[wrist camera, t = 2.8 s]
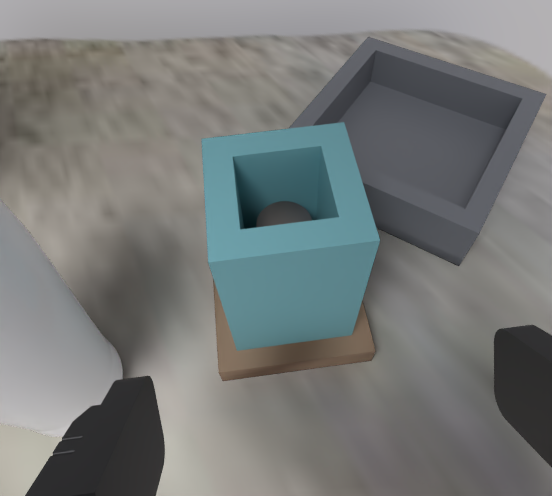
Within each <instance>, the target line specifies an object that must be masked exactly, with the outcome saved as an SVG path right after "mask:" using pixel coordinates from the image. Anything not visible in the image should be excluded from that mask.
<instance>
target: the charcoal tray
mask: <svg viewBox="0 0 552 496" xmlns="http://www.w3.org/2000/svg"><path fill="white" fill-rule="evenodd" d="M545 96H546V94H544V93H541V92H538V91H535V90H532V89H529V88H525V87H522V86H519V85H516V84H513V83H510V82H507V81H504V80H501V79H498V78H494V77H491V76H488V75H485V74H482V73H479V72H476V71H473V70H470V69H467V68H463V67H460V66H457V65H454V64H451V63H448V62H445V61H442V60H439V59H436V58H432V57H429V56H426V55H423V54H420V53H417V52H414V51H411V50H408V49H405V48H401V47H398V46H395V45H392V44H389V43H386V42H383V41H380V40H377V39H374V38H370V37H368V38H367V39H366V40H365V41H364V42H363V43H362V45H361V46H360V47H359V48H358V49H357V50H356V51H355V53H354V54H353V55H352V56H351V57H350V58H349V60H348V61H347V62H346V63H345V64H344V65H343V66H342V68H341V69H340V70H339V71H338V72H337V73H336V74H335V76H334V77H333V78H332V79H331V80H330V81H329V82H328V84H327V85H326V86H325V87H324V88H323V89H322V91H321V92H320V93H319V94H318V95H317V96H316V97H315V99H314V100H313V101H312V102H311V103H310V104H309V105H308V107H307V108H306V109H305V110H304V111H303V112H302V114H301V115H300V116H299V117H298V118H297V119H296V120H295V122H294V123H293V124H292V125H291V126H290V127H289V128H288V129H290V128H299V127H307V126H316V125H324V124H333V123H341V122H344V124H345V127H346V130H347V133H348V137H349V140H350V143H351V146H352V150H353V153H354V156H355V160H356V163H357V166H358V169H359V173H360V176H361V179H362V183H363V186H364V189H365V192H366V196H367V199H368V202H369V206H370V209H371V212H372V215H373V219H374V222H375V225H376V228H378V229H381V230H383V231H385V232H387V233H389V234H391V235H393V236H396V237H398V238H400V239H402V240H404V241H406V242H408V243H411V244H413V245H415V246H417V247H419V248H421V249H423V250H426V251H428V252H430V253H432V254H434V255H436V256H438V257H440V258H443V259H445V260H447V261H449V262H451V263H453V264H455V265H458V266H459V265H460V263H461V262H462V260H463V259H464V257H465V255H466V254H467V252H468V251H469V249H470V247H471V246H472V244H473V243H474V241H475V239H476V238H477V236H478V235H479V233H480V231H481V229H482V227H483V225H484V223H485V220H486V218H487V216H488V214H489V212H490V210H491V208H492V206H493V204H494V202H495V200H496V198H497V196H498V194H499V191H500V189H501V187H502V185H503V183H504V181H505V179H506V177H507V175H508V173H509V171H510V169H511V167H512V164H513V162H514V160H515V158H516V156H517V154H518V152H519V150H520V148H521V146H522V144H523V142H524V140H525V138H526V135H527V133H528V131H529V129H530V127H531V125H532V123H533V121H534V119H535V117H536V115H537V113H538V111H539V109H540V106H541V104H542V102H543V100H544V98H545Z"/></svg>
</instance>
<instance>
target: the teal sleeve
mask: <svg viewBox="0 0 552 496" xmlns="http://www.w3.org/2000/svg"><path fill="white" fill-rule="evenodd" d="M202 157H203V175H204V193H205V212H206V230H207V249H208V263H209V266H210V269H211V272H212V276H213V279H214V282H215V285H216V288H217V291H218V294H219V297H220V300H221V303H222V306H223V309H224V312H225V316H226V319H227V322H228V325H229V328H230V331H231V334H232V337H233V340H234V343H235V346H236V349H237V351H240V350H247V349H254V348H262V347H269V346H276V345H284V344H291V343H298V342H306V341H313V340H320V339H328V338H335V337H342V336H350V335H352V333H353V330H354V326H355V323H356V320H357V316H358V313H359V310H360V306H361V303H362V300H363V296H364V293H365V290H366V286H367V283H368V279H369V276H370V273H371V269H372V266H373V263H374V259H375V256H376V253H377V249H378V246H379V243H380V238H379V235H378V232H377V228H376V225H375V222H374V219H373V215H372V212H371V209H370V206H369V202H368V199H367V196H366V192H365V189H364V186H363V183H362V179H361V176H360V173H359V169H358V166H357V163H356V160H355V156H354V153H353V150H352V146H351V143H350V140H349V137H348V133H347V130H346V127H345V124H344V122H341V123H333V124H324V125H316V126H307V127H299V128H290V129H281V130H273V131H264V132H256V133H247V134H239V135H230V136H222V137H213V138H205V139H202ZM280 201H290V202H294V203H297V204H299V205H301V206H303V207H304V208H305V209H306V210H307V211H308V212H309V214H310V216H311V218H312V221H304V222H296V223H288V224H280V225H272V226H264V227H257V226H256V223H257V218H258V216H259V214H260V212H261V211H262V210H263V209H264V208H265V207H267V206H268V205H270V204H272V203H275V202H280Z"/></svg>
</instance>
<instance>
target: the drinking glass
mask: <svg viewBox="0 0 552 496" xmlns="http://www.w3.org/2000/svg"><path fill="white" fill-rule="evenodd" d="M120 379H123V368H122V362H121V359H120V356H119V354H118V352H117V351H116V349H115V348H114V346H113V345H112V344H111V343H110V342H109V341H108V340H107V339H106V338H105V337H104V336H103V335H102V333H101V332H100V331H99V329H98V328H97V326H96V325H95V324H94V322H93V321H92V319H91V318H90V317H89V315H88V314H87V312H86V311H85V310H84V308H83V307H82V305H81V304H80V302H79V301H78V300H77V298H76V297H75V295H74V294H73V292H72V291H71V290H70V288H69V287H68V285H67V284H66V282H65V281H64V279H63V278H62V276H61V275H60V274H59V272H58V271H57V269H56V268H55V266H54V265H53V263H52V262H51V261H50V259H49V258H48V256H47V255H46V253H45V252H44V251H43V249H42V248H41V246H40V245H39V244H38V242H37V241H36V240H35V238H34V237H33V236H32V234H31V233H30V232H29V231H28V229H27V228H26V227H25V226H24V225H23V223H22V222H21V221H20V220H19V219H18V218H17V216H16V215H15V214H14V213H13V212H12V211H11V210H10V209H9V207H8V206H7V205H6V204H5V203H4V202H3V201H2V200H1V199H0V424H3V425H8V426H13V427H18V428H23V429H28V430H31V431H33V432H36V433H39V434H42V435H45V436H51V437H63V436H64V434H65V433H66V431H67V430H68V428H69V426H70V425H71V423H72V422H73V421H74V420H75V419H76V418H77V417H79V416H80V415H81V414H82V413H83V412H85V411H86V410H87V409H88V408H89V407H91V406H94V405H101V403H102V401H103V400H104V398H105V396H106V394H107V393H108V391H109V389H110V387H111V386H112V384H113V382H114V381H115V380H120Z"/></svg>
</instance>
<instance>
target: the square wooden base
mask: <svg viewBox="0 0 552 496" xmlns="http://www.w3.org/2000/svg"><path fill="white" fill-rule="evenodd" d="M304 221H312V218H311V216H310V214H309V212H308V211H307V210H306V209H305V208H304V207H303V206H301V205H299V204H297V203H294V202H290V201H280V202H275V203H272V204H270V205H268V206H267V207H265V208H264V209H263V210H262V211H261V212H260V214H259V216H258V218H257V223H256V226H257V227H264V226H272V225H280V224H288V223H296V222H304ZM213 285H214V301H215V318H216V335H217V352H218V368H219V374H220V376H221V378H222V380H223V381H227V380H234V379H241V378H249V377H256V376H263V375H270V374H278V373H285V372H292V371H299V370H306V369H314V368H321V367H328V366H335V365H342V364H350V363H357V362H364V361H371V360H372V358H373V356H374V353H375V347H374V343H373V339H372V335H371V331H370V327H369V324H368V320H367V316H366V312H365V308H364V304H363V300H362V303H361V306H360V310H359V313H358V316H357V320H356V323H355V326H354V330H353V333H352V335H350V336H342V337H335V338H328V339H320V340H313V341H306V342H298V343H291V344H284V345H276V346H269V347H262V348H254V349H247V350H240V351H237V349H236V346H235V343H234V340H233V337H232V334H231V331H230V328H229V325H228V322H227V319H226V316H225V312H224V309H223V306H222V303H221V300H220V297H219V294H218V291H217V288H216V285H215V282H214V279H213Z"/></svg>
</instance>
